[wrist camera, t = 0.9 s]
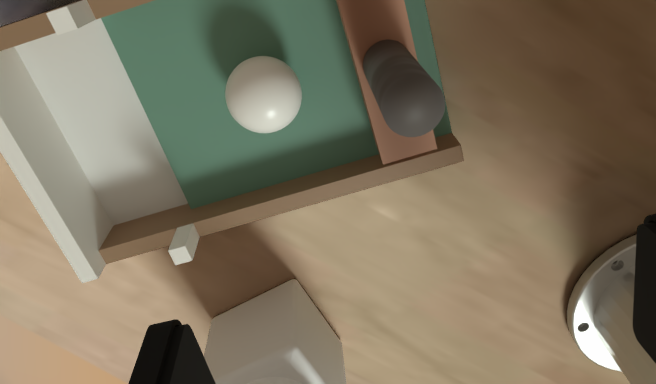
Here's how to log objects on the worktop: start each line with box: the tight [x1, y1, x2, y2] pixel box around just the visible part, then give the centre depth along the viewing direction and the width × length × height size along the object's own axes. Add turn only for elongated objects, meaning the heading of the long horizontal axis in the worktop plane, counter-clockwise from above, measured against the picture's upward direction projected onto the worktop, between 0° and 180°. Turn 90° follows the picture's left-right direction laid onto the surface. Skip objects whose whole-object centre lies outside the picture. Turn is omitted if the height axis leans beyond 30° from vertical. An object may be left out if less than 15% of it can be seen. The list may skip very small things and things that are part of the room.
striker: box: [336, 0, 445, 164], centre depth 25 cm, size 3×10×10 cm, turn 16°
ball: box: [225, 56, 302, 133], centre depth 29 cm, size 4×4×4 cm
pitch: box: [0, 0, 464, 283], centre depth 29 cm, size 23×14×6 cm, turn 107°
